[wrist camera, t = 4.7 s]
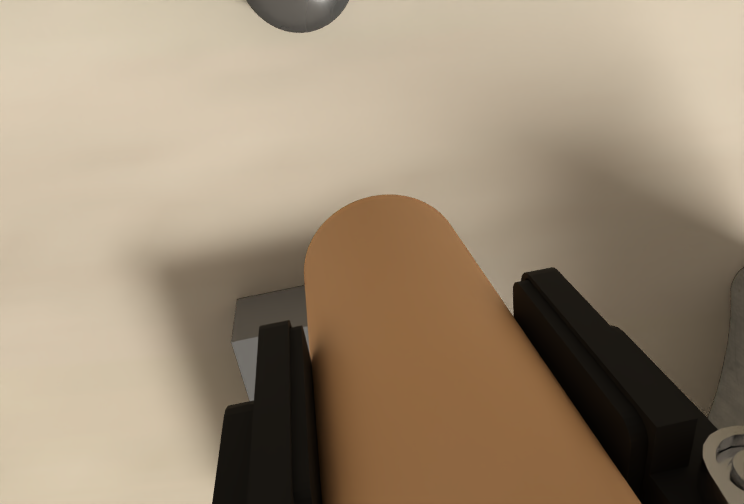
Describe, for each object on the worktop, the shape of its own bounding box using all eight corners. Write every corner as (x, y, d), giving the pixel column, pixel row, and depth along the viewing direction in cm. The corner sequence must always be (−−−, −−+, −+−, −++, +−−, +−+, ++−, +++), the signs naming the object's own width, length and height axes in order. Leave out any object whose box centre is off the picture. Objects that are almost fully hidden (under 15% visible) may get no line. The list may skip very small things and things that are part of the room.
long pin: (288, 211, 12) (318, 1500, 2) (455, 180, 13) (1296, 1156, 2) (320, 347, 14) (423, 1383, 4) (465, 318, 15) (944, 1210, 4)
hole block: (236, 299, 28) (231, 342, 25) (456, 254, 29) (481, 289, 26) (295, 495, 35) (297, 552, 31) (473, 453, 36) (495, 503, 32)
